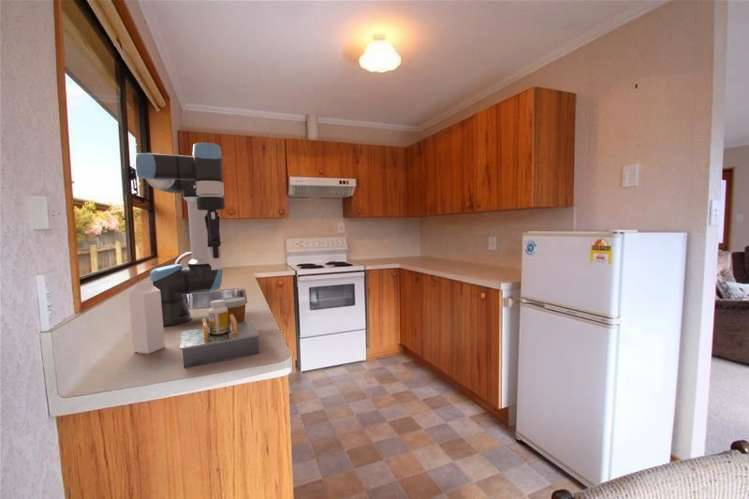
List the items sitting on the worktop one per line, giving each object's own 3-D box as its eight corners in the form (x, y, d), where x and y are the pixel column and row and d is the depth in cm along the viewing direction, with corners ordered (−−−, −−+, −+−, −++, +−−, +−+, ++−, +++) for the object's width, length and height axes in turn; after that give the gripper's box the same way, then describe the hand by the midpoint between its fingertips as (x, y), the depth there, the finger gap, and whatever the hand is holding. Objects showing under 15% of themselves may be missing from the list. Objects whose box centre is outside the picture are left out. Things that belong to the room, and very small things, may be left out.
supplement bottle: (230, 328, 108) (228, 298, 107) (227, 333, 103) (224, 302, 102) (212, 330, 107) (210, 299, 106) (207, 335, 102) (205, 303, 101)
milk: (133, 352, 107) (127, 283, 105) (151, 345, 113) (145, 280, 111) (148, 354, 105) (142, 284, 104) (165, 347, 111) (159, 280, 109)
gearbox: (183, 349, 108) (180, 319, 107) (252, 337, 118) (250, 309, 117) (181, 369, 93) (178, 333, 92) (261, 353, 103) (259, 321, 102)
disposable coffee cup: (225, 328, 130) (223, 297, 129) (251, 326, 131) (249, 295, 130) (216, 336, 121) (214, 303, 120) (244, 334, 121) (242, 301, 120)
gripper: (195, 199, 111) (200, 264, 112) (196, 192, 89) (202, 273, 91) (221, 199, 114) (225, 262, 116) (227, 193, 92) (232, 270, 94)
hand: (215, 267), depth 103 cm, fingers open, 13 cm apart
